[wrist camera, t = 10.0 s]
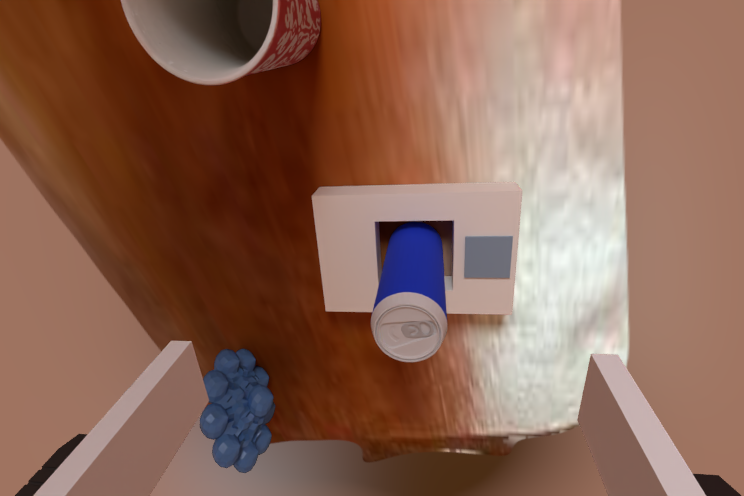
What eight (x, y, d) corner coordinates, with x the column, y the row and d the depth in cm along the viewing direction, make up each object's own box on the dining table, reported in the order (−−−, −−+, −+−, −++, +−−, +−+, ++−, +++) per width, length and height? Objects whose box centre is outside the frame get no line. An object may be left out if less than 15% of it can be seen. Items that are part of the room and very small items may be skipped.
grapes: (313, 397, 50) (281, 488, 40) (267, 409, 52) (224, 500, 41) (266, 321, 47) (217, 398, 36) (218, 337, 49) (157, 415, 38)
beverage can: (397, 272, 42) (382, 371, 29) (382, 226, 40) (358, 308, 27) (447, 261, 41) (456, 358, 27) (434, 213, 39) (436, 292, 26)
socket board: (319, 186, 40) (310, 196, 37) (515, 181, 37) (522, 191, 34) (332, 296, 44) (325, 312, 41) (506, 298, 42) (512, 315, 39)
